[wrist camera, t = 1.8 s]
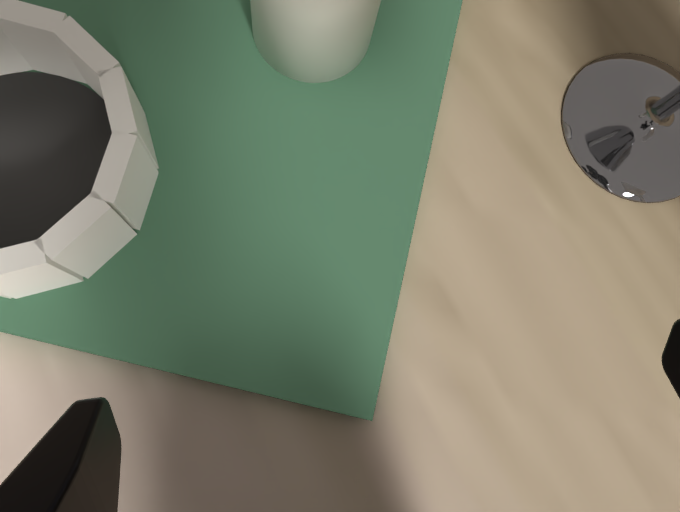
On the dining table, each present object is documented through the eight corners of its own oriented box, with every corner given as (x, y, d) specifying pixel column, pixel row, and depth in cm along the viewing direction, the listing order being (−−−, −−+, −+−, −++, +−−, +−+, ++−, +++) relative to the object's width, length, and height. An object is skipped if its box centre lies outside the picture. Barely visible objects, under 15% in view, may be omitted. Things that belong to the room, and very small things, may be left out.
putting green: (465, -23, 26) (498, -95, 22) (369, 419, 22) (390, 429, 18) (29, -146, 25) (-17, -244, 21) (-164, 291, 21) (-268, 271, 17)
